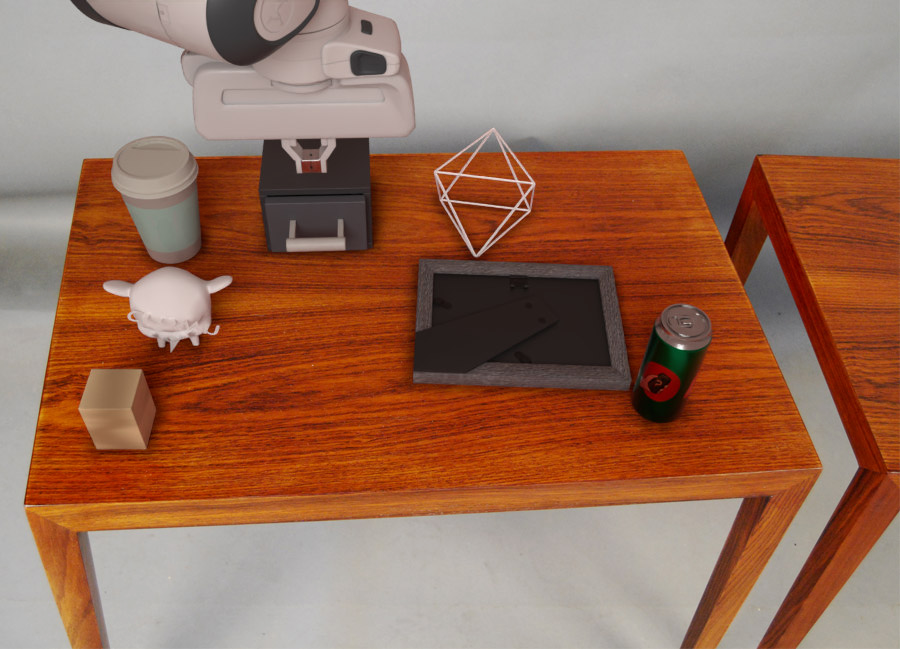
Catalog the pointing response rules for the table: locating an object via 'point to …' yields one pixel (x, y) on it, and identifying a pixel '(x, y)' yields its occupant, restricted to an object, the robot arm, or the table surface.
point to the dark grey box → (317, 174)
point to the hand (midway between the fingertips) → (312, 169)
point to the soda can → (671, 363)
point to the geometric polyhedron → (484, 204)
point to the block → (118, 408)
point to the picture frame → (519, 325)
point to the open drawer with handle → (316, 222)
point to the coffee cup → (161, 195)
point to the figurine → (170, 304)
